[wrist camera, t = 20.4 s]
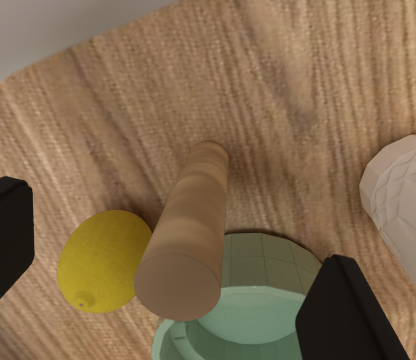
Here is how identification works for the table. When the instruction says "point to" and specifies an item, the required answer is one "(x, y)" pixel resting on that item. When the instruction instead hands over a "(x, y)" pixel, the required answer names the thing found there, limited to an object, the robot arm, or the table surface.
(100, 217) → the lemon
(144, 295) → the stick
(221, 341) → the bowl
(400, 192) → the white cup
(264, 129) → the table surface
